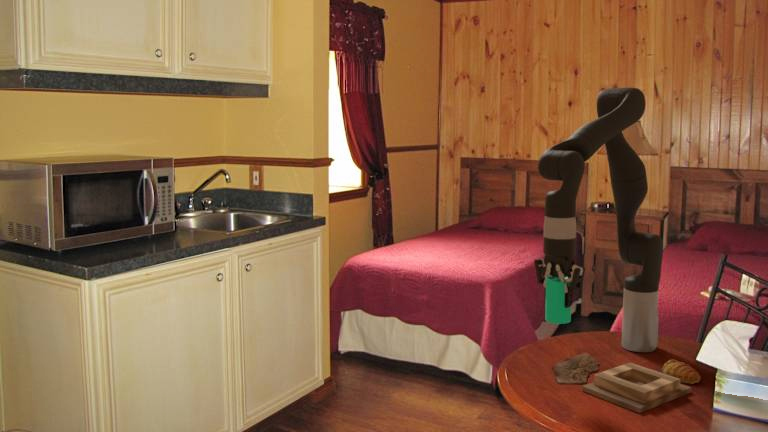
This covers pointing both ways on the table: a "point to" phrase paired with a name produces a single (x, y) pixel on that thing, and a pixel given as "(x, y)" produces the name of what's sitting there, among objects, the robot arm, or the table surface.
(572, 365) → the wooden fragment
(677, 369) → the pastry
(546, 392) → the table surface
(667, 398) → the board
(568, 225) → the robot arm
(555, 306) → the candle
